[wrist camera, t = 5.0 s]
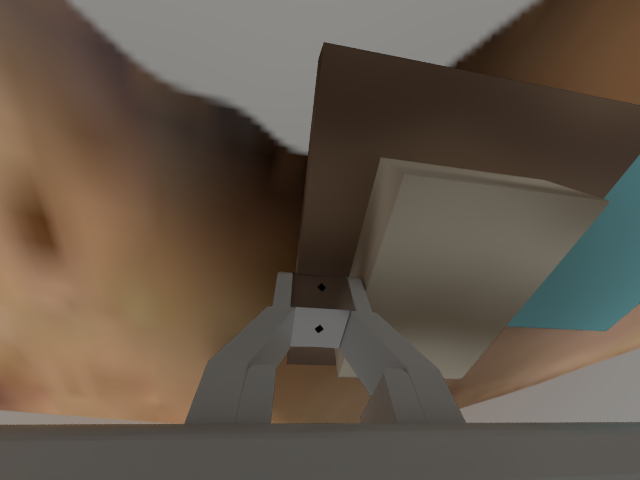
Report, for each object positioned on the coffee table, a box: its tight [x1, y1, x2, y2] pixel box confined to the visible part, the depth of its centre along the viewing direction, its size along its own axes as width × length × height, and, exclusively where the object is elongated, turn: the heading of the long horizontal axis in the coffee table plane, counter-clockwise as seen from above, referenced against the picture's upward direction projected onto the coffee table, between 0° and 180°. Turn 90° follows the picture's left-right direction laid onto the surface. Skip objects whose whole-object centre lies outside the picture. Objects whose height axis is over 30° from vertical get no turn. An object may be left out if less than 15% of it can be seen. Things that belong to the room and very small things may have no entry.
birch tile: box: [334, 157, 611, 379], centre depth 9 cm, size 9×6×2 cm, turn 172°
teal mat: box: [507, 155, 640, 331], centre depth 13 cm, size 12×10×1 cm
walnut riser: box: [287, 42, 640, 365], centre depth 11 cm, size 14×11×2 cm
